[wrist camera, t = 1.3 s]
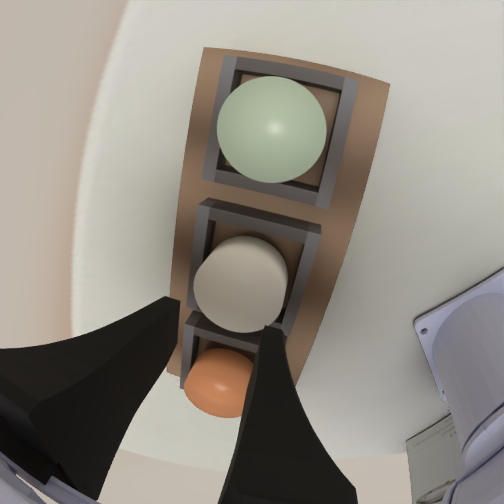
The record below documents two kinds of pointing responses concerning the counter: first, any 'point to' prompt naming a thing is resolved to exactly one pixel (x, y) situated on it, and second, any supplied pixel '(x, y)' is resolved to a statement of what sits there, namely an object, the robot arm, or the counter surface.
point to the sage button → (271, 129)
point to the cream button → (242, 284)
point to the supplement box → (433, 462)
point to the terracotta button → (219, 382)
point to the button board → (272, 201)
